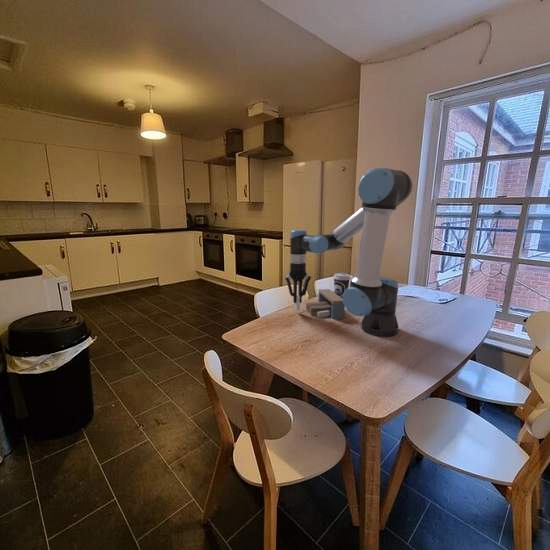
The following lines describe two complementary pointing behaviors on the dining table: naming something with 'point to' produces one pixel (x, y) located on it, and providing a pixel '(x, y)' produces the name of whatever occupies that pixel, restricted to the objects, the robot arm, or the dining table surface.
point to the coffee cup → (341, 283)
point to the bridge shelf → (334, 300)
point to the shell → (318, 307)
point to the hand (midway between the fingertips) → (297, 308)
